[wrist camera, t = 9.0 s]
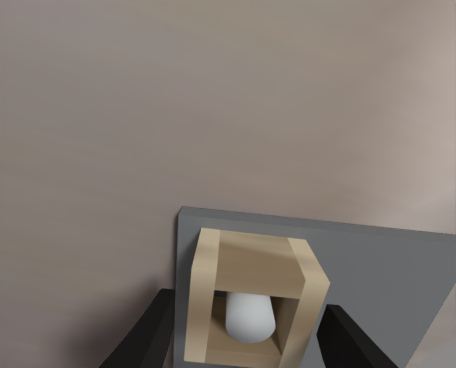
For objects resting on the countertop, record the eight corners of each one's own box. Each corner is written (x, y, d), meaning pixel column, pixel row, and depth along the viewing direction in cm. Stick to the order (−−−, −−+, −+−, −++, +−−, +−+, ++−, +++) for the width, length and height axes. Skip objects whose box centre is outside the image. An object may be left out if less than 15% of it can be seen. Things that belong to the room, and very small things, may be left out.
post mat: (376, 385, 17) (417, 463, 13) (175, 368, 17) (159, 444, 13) (458, 235, 12) (558, 290, 9) (182, 206, 12) (160, 251, 8)
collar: (283, 315, 13) (297, 372, 10) (194, 306, 13) (183, 361, 10) (305, 239, 11) (330, 283, 9) (201, 227, 11) (191, 267, 8)
